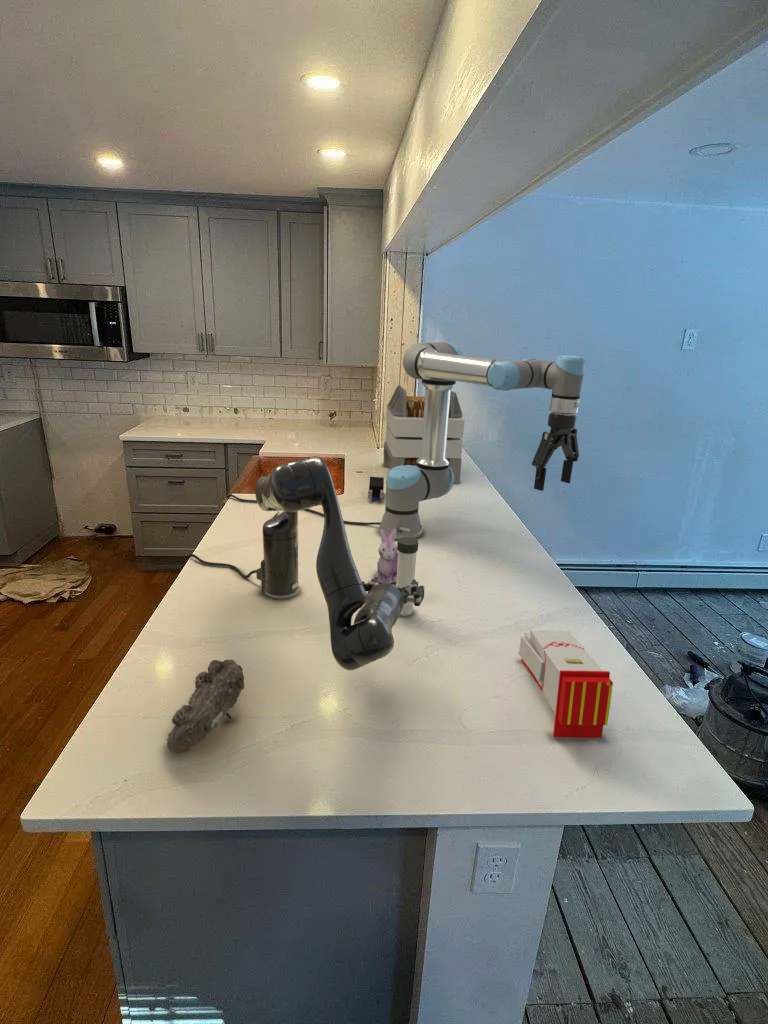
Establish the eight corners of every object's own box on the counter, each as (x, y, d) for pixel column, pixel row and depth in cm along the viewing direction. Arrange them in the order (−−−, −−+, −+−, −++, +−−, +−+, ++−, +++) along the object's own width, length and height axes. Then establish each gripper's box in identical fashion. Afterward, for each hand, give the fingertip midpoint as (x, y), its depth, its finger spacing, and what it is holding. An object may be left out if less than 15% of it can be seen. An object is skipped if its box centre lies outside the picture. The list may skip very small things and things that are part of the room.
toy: (565, 614, 131) (622, 678, 102) (559, 667, 134) (613, 744, 105) (513, 613, 131) (555, 677, 102) (509, 666, 134) (548, 744, 104)
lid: (411, 555, 140) (411, 546, 139) (393, 550, 142) (393, 541, 141) (421, 548, 144) (422, 540, 143) (403, 543, 146) (404, 535, 146)
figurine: (383, 587, 161) (385, 538, 155) (367, 573, 169) (369, 526, 164) (412, 582, 165) (415, 534, 160) (395, 567, 173) (397, 522, 168)
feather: (286, 506, 225) (288, 502, 225) (268, 529, 199) (271, 525, 198) (282, 503, 225) (284, 499, 225) (264, 526, 199) (267, 522, 198)
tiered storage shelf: (382, 463, 289) (386, 382, 275) (445, 464, 293) (451, 384, 279) (390, 482, 257) (394, 392, 243) (460, 483, 261) (468, 394, 247)
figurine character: (384, 507, 230) (383, 491, 243) (385, 490, 226) (384, 475, 240) (367, 506, 230) (368, 491, 243) (368, 489, 226) (368, 474, 240)
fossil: (192, 660, 117) (244, 628, 112) (224, 691, 120) (276, 661, 115) (142, 746, 98) (202, 712, 93) (182, 779, 101) (242, 748, 96)
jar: (406, 617, 146) (411, 547, 139) (391, 612, 148) (395, 543, 142) (415, 610, 150) (420, 541, 143) (400, 605, 152) (404, 537, 145)
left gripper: (417, 592, 110) (427, 568, 125) (346, 587, 112) (364, 564, 128) (416, 629, 111) (426, 600, 127) (346, 623, 114) (364, 595, 129)
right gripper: (548, 419, 148) (537, 496, 155) (598, 411, 163) (586, 482, 171) (525, 414, 153) (515, 489, 160) (575, 407, 169) (564, 476, 176)
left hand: (395, 582), depth 127 cm, fingers open, 8 cm apart
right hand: (552, 485), depth 166 cm, fingers open, 13 cm apart
